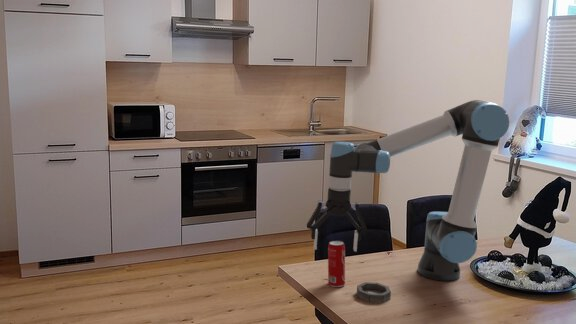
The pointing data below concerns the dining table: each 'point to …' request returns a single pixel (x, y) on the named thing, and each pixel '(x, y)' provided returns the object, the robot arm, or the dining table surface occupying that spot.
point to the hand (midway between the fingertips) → (335, 249)
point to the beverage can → (336, 263)
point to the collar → (373, 292)
